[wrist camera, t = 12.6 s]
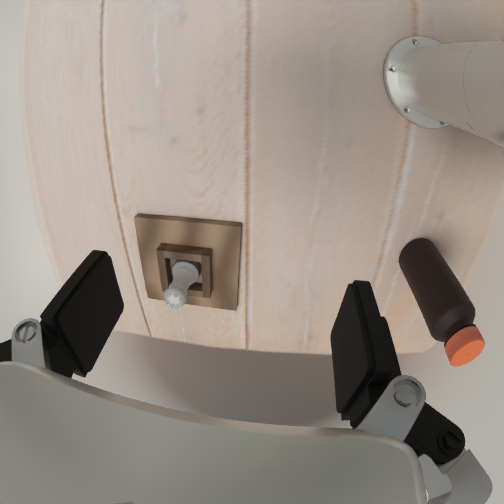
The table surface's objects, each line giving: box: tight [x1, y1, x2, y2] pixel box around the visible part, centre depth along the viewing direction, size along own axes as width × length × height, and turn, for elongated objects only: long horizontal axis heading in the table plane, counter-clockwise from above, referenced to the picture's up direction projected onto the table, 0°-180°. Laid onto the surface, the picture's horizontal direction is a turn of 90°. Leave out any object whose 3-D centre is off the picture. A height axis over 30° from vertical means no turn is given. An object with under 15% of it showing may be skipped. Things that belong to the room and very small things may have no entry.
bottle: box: [399, 239, 485, 366], centre depth 33 cm, size 7×7×20 cm
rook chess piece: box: [164, 259, 201, 308], centre depth 41 cm, size 4×4×8 cm
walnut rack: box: [134, 214, 242, 310], centre depth 44 cm, size 16×16×3 cm
